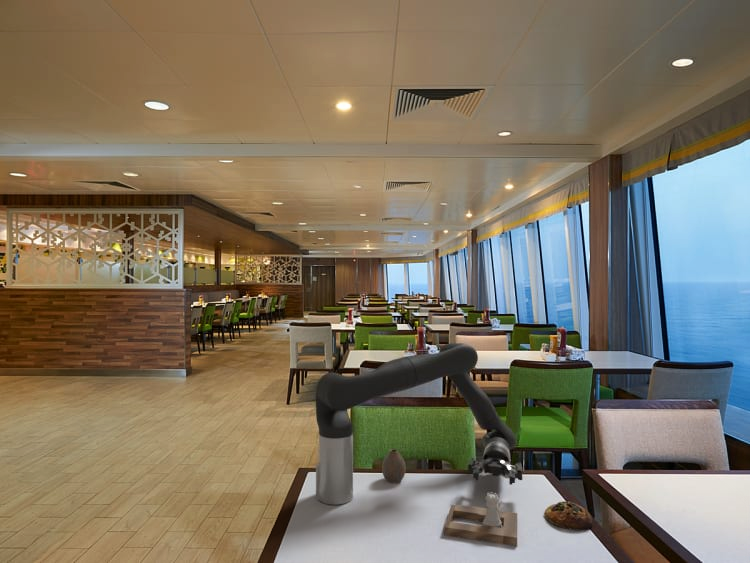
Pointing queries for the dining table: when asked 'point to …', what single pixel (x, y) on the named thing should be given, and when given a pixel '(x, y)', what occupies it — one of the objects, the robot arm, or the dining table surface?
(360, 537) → the dining table surface
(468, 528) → the rectangular wooden frame
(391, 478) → the vase
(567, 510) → the bread roll
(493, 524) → the rook chess piece
